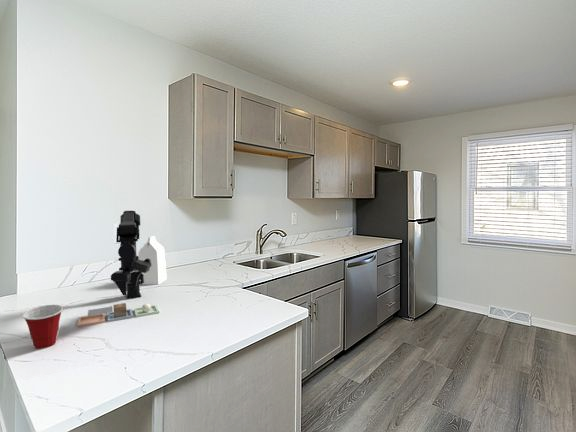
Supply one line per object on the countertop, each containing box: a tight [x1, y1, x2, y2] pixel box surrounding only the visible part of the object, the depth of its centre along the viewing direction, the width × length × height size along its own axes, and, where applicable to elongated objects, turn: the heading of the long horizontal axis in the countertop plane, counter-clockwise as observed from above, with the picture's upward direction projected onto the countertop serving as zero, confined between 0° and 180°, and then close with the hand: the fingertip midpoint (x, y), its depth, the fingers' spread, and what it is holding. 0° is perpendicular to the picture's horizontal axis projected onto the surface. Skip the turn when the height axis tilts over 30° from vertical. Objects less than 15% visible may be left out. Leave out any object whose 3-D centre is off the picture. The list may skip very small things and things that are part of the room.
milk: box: [138, 235, 168, 285], centre depth 185 cm, size 12×12×26 cm
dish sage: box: [133, 304, 160, 318], centre depth 137 cm, size 9×9×1 cm
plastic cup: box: [22, 304, 64, 350], centre depth 107 cm, size 11×11×12 cm
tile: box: [87, 306, 114, 316], centre depth 137 cm, size 9×9×1 cm
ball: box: [141, 303, 152, 312], centre depth 137 cm, size 4×4×4 cm
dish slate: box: [106, 308, 134, 323], centre depth 132 cm, size 9×9×1 cm
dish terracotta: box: [76, 313, 106, 328], centre depth 127 cm, size 9×9×1 cm
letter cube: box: [112, 302, 127, 318], centre depth 132 cm, size 4×4×5 cm
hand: (129, 291), depth 133 cm, fingers open, 9 cm apart
